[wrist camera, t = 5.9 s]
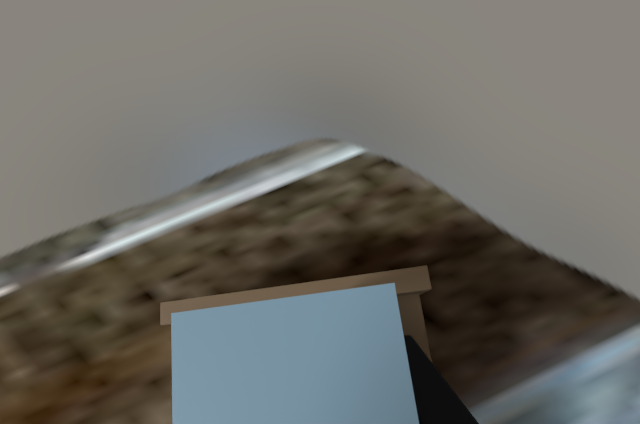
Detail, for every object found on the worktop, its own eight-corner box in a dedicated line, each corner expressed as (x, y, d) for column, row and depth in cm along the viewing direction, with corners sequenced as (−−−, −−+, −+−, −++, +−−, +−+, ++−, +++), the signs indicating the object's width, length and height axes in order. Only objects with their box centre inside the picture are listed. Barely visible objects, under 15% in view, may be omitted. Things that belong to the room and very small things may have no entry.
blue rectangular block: (409, 444, 14) (525, 1023, 3) (342, 450, 14) (178, 992, 3) (386, 306, 15) (394, 282, 4) (326, 314, 16) (171, 313, 4)
